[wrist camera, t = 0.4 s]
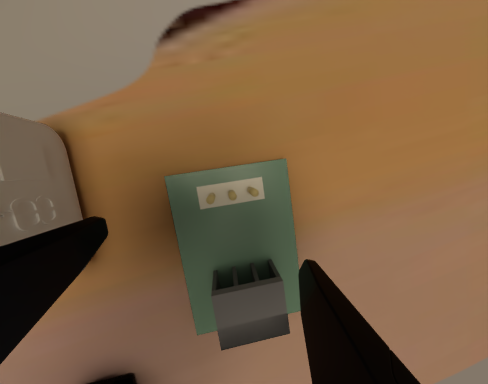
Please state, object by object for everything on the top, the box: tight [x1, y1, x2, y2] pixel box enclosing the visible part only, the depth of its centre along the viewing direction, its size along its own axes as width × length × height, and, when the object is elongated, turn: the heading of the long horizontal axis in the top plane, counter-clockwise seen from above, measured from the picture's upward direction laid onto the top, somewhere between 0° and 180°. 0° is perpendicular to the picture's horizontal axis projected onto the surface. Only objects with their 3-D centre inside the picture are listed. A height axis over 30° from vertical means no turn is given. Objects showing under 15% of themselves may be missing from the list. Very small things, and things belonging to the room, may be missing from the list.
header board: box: [164, 159, 301, 335], centre depth 21 cm, size 20×14×4 cm
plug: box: [211, 259, 290, 350], centre depth 20 cm, size 6×7×4 cm
